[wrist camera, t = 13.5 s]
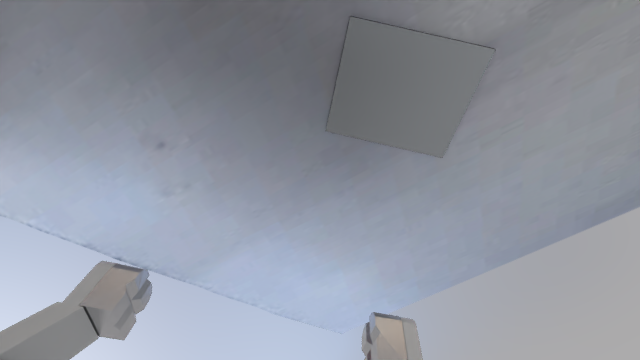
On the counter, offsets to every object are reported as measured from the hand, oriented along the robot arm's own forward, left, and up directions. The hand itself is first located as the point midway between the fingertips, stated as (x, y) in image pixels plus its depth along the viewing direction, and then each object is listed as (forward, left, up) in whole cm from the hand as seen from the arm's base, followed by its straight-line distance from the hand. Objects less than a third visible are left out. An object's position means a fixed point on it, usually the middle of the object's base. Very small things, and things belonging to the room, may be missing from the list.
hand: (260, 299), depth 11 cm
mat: (+7, +1, -26) cm, 27 cm away
